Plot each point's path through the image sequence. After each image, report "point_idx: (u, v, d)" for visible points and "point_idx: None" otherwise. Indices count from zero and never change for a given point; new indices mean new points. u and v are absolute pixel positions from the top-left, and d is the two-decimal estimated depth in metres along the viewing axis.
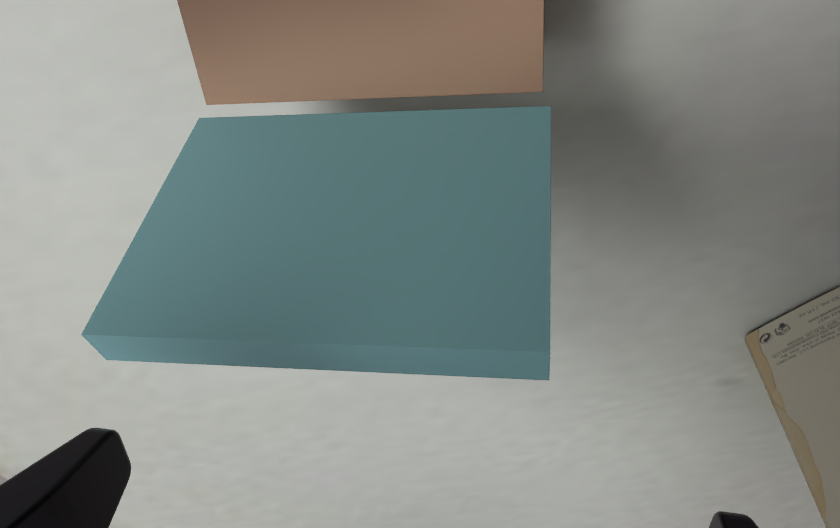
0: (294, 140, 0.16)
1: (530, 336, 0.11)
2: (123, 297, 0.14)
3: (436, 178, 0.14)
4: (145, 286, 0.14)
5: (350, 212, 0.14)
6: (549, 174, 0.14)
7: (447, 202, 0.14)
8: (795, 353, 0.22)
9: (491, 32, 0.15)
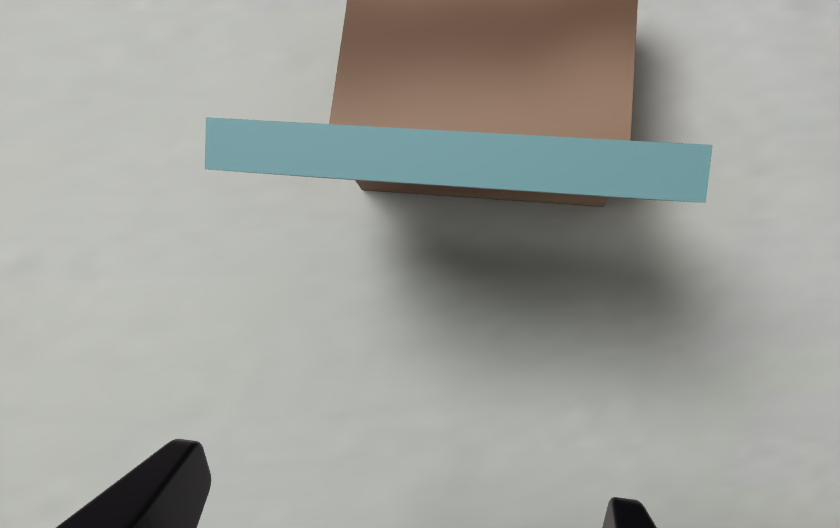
0: None
1: None
2: None
3: None
4: None
5: None
6: None
7: None
8: None
9: (589, 106, 0.19)
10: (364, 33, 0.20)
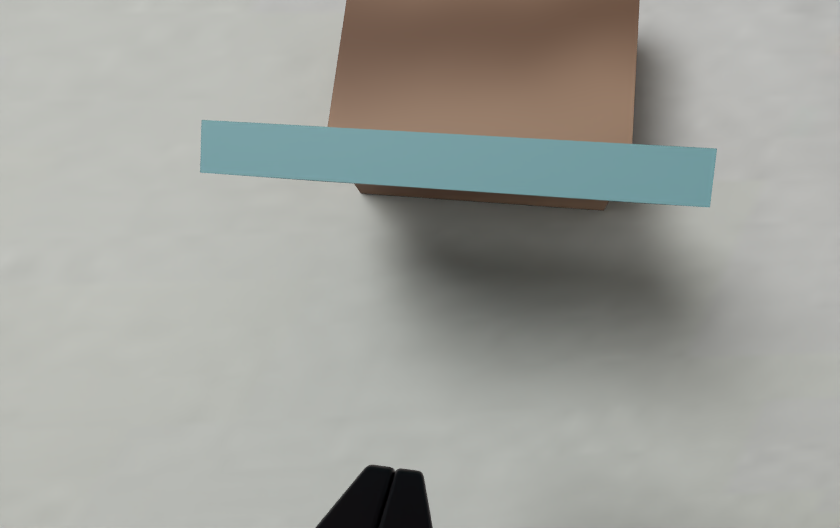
0: None
1: None
2: None
3: None
4: None
5: None
6: None
7: None
8: None
9: (590, 109, 0.19)
10: (363, 35, 0.20)
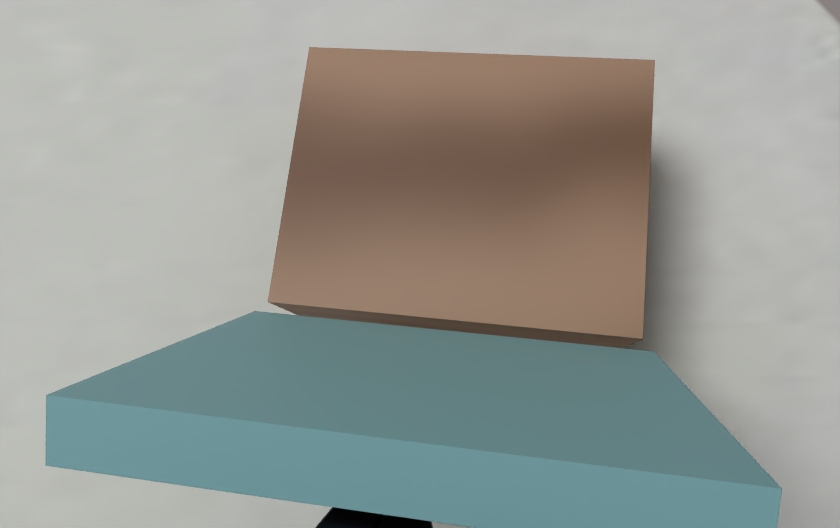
0: (365, 331, 0.14)
1: (740, 473, 0.08)
2: (123, 380, 0.10)
3: (542, 367, 0.12)
4: (159, 377, 0.10)
5: (441, 371, 0.11)
6: (680, 380, 0.12)
7: (563, 379, 0.11)
8: None
9: (592, 271, 0.15)
10: (316, 168, 0.16)
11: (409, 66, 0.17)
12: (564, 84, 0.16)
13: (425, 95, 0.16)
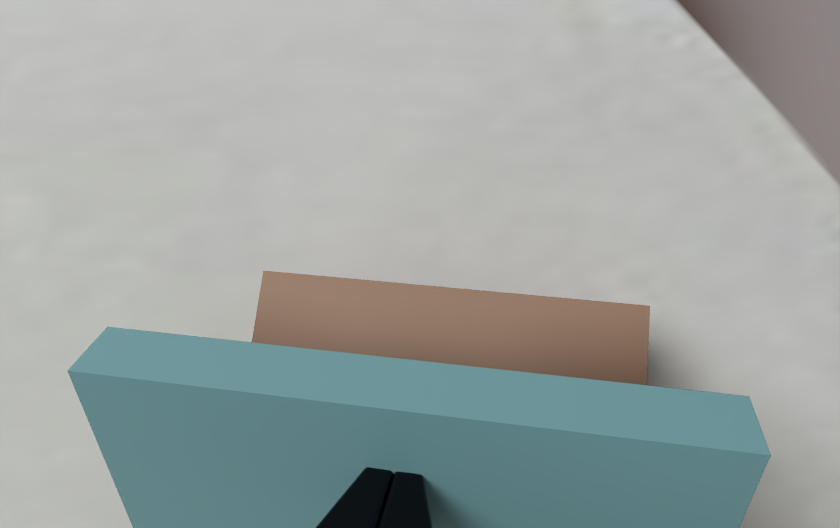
0: None
1: None
2: None
3: None
4: None
5: None
6: None
7: None
8: None
9: None
10: None
11: (374, 299, 0.15)
12: (547, 330, 0.14)
13: (392, 336, 0.15)
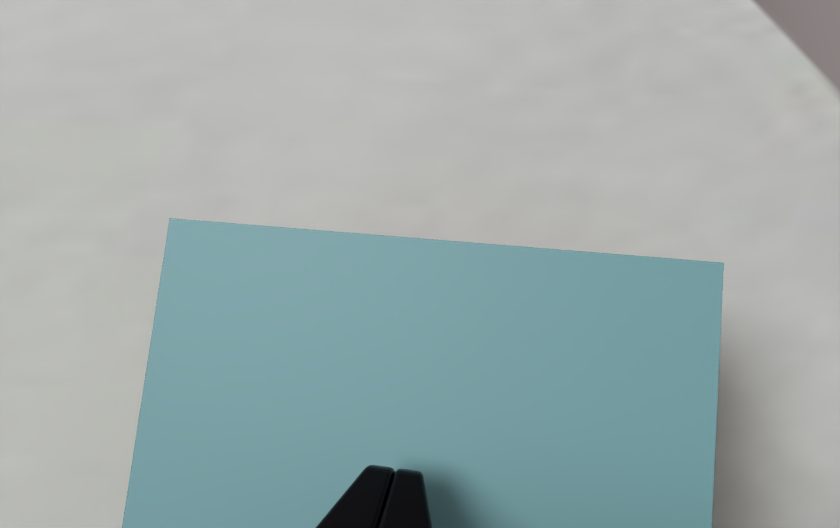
0: None
1: None
2: None
3: None
4: None
5: None
6: None
7: None
8: None
9: None
10: None
11: None
12: None
13: None
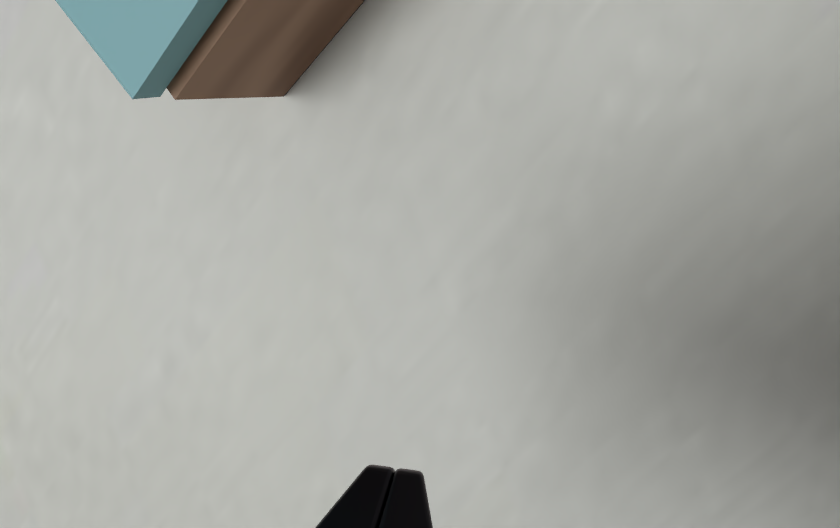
0: None
1: None
2: None
3: None
4: None
5: None
6: None
7: None
8: None
9: None
10: None
11: None
12: None
13: None
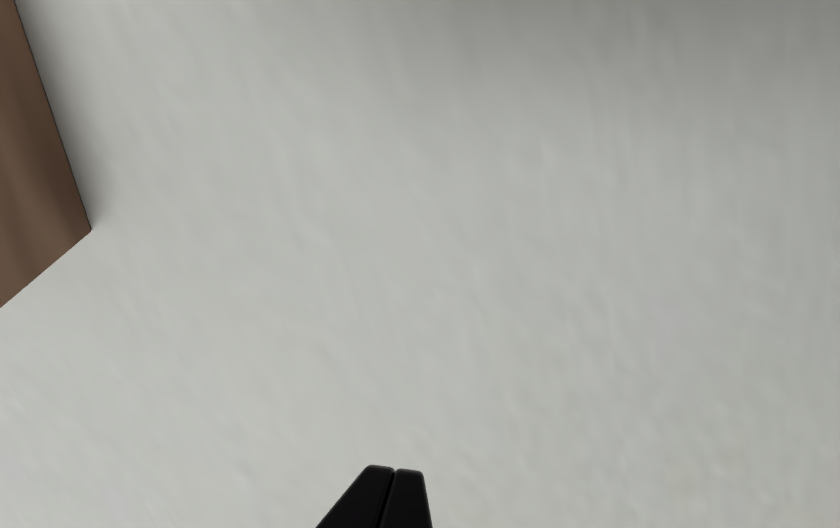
0: None
1: None
2: None
3: None
4: None
5: None
6: None
7: None
8: None
9: None
10: None
11: None
12: None
13: None
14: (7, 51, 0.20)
